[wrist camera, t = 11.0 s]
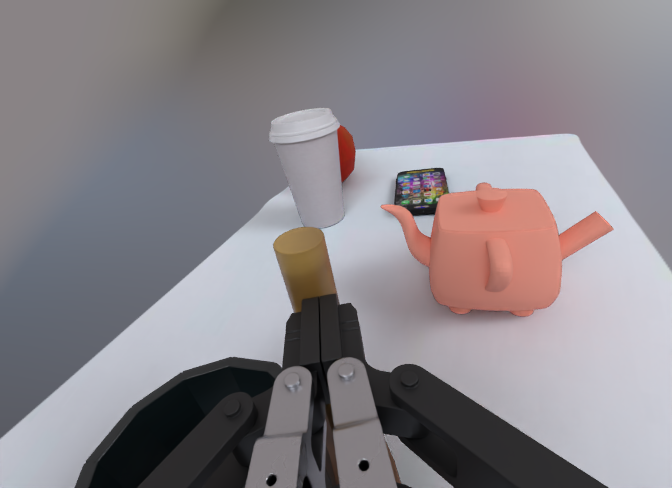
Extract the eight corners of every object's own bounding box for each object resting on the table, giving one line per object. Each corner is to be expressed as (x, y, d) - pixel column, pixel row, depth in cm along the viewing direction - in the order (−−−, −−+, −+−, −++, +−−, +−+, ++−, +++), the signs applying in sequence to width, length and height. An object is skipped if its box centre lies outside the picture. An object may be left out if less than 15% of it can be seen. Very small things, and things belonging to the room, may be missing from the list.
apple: (366, 184, 61) (356, 116, 55) (310, 198, 60) (295, 131, 54) (351, 168, 70) (342, 108, 64) (302, 180, 69) (288, 120, 63)
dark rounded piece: (-38, 958, 11) (-1225, 1262, 3) (127, 429, 26) (-10, 263, 19) (487, 722, 13) (529, 560, 5) (355, 358, 28) (316, 180, 21)
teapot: (496, 239, 40) (501, 152, 35) (603, 292, 30) (632, 183, 25) (390, 287, 36) (378, 198, 31) (474, 366, 27) (476, 255, 21)
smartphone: (392, 211, 48) (396, 171, 61) (393, 217, 49) (397, 177, 61) (452, 206, 46) (444, 166, 59) (452, 212, 47) (444, 172, 59)
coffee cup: (279, 227, 53) (249, 126, 45) (320, 200, 59) (299, 107, 51) (327, 239, 47) (302, 126, 40) (367, 208, 53) (351, 105, 45)
